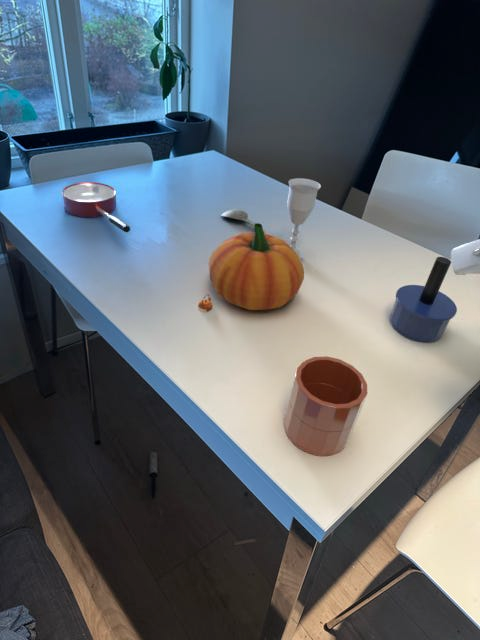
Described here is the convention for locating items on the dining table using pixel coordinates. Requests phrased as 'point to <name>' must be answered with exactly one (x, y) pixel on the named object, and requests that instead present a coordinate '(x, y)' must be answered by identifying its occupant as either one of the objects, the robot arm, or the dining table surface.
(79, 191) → the frying pan
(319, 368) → the pot
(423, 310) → the lid
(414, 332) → the blue round container
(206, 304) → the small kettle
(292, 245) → the chalice
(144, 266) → the dining table surface
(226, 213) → the soupspoon
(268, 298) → the pumpkin
